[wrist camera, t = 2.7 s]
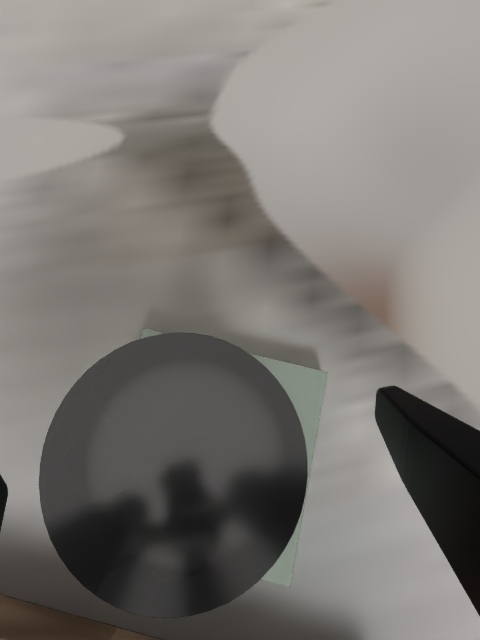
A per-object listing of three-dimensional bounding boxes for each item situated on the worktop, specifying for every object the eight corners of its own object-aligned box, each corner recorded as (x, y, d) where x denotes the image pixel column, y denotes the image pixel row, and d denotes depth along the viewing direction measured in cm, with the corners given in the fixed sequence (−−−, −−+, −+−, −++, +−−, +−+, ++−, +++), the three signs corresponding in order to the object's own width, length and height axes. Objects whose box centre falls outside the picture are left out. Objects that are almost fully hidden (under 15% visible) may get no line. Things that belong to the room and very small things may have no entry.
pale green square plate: (322, 375, 17) (327, 372, 16) (286, 577, 15) (289, 587, 14) (148, 333, 18) (143, 327, 17) (87, 524, 16) (78, 530, 15)
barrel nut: (271, 408, 16) (328, 364, 6) (248, 513, 15) (277, 653, 5) (175, 385, 16) (93, 308, 7) (146, 487, 15) (-5, 574, 5)
